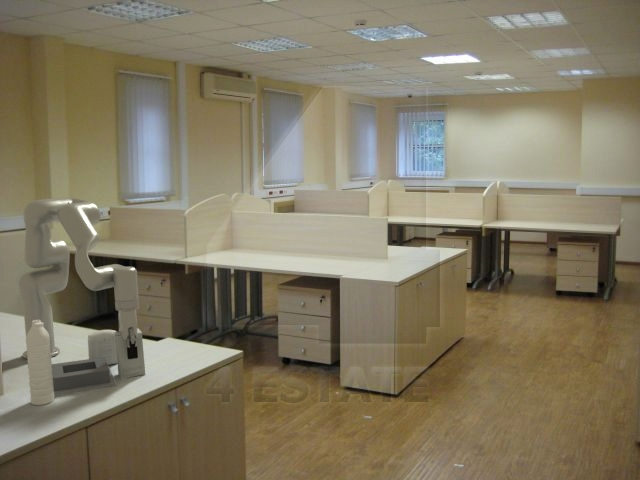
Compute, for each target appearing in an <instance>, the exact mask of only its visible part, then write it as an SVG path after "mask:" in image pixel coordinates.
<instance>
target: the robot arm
mask: <svg viewBox="0 0 640 480" xmlns="http://www.w3.org/2000/svg"><path fill="white" fill-rule="evenodd" d="M23 220H24V221H23V223H24V226H25V238H24V239H25V241H24V262H25V264H26V266H27V267H29V268H31V269H33V270H29V271H26V272H24V273H23V274H21V276H20V277H19V278H18V282H17V285H18V290H19V293H20V296H21V301H22V307H23V316H24V317H23V319H24V320H23V321H24V328H25V329H24V330H25V336H26V335H27V333H28V332H29V330H30V329H31V327H32V321H33V320H41V322H43V323H44V326H43V327H44V328H45V329H46V331H47V332H48V333H49V336H50V351H51V358H52V357H54V356H58V354H60V352H61V351H60V348H59V347H57V346H56V345H55V344H56V343H55V332H54V319H53V309H52V308H53V307H52V303H50V301H49V299H48V298H47V297H46V296H47V295H49V294H55V293H58V292H61V291H64V290H65V289H66V287H67V285H68V281H69V274H70V273H69V271H70V270H69V269H70V255H71V254H70V250H69V249H70V248H69V246H68V244H67V243H66V242H65V240H62V239H60V238H55V239H54V238H53V239H52V229H51V227H50V225H49V224H53V223H60V224H61V227H63V229H64V231H65V232H66V234H67V236H68V237H69V238H70V240H71V243H72V244H73V245H74V247H75V248H76V250H75V254H74V267H75V270H76V273H77V275H78V276H79V279H80V280H81V281H82V283H83V284H84V286H85V287H86V288H88V289H89V290H91V291H93V292H96V291H98V292H99V291H102V290H106V289H110V288H111V289H112V288H113V289H114V291H113V292H114V305H115V311H117V312H118V332H120V334H121V336H122V340H123V341H125V340H127V345H128V347H127V357H128V359H136V358H138V351H137V343H136V339H137V337H138V334H137V328H138V319H137V310H138V309H140V299H139V285H138V284H139V283H138V271H137V268H135V266H124V265H121V264H117V263H114V264H107V265H103V266H98V267H94V264H93V263H92V262H91V260H90V258H89V252H90V251H91V250H92V249H94V248H96V246H97V245H98V244H99V242H100V241H101V240H100V239H101V237H100V234H99V233H98V232H97V230H96V228H95V227H94V226H95V225H97V224H99V222H100V220H101V212H100V209H99V208H98V206H97V205H96V204H95V203H93V202H92V201H88V200H85V199H83V200H82V199H80V198H79V199H78V198H74V197H61V198H60V197H57V198H55V197H54V198H44V199H37V200H33V201H30V202H29V203H28V204H26V205H25V208H24V211H23ZM34 269H35V270H34ZM135 336H136V337H135ZM129 341H130V342H129ZM22 357H23V359H26V360H28V358H27V357H28V356H27V350H25V351H23V352H22Z"/></svg>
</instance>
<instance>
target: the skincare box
mask: <svg viewBox="0 0 640 480" xmlns="http://www.w3.org/2000/svg"><path fill="white" fill-rule="evenodd" d="M137 334H138V337H137V339H136V343H137V351H138V358H136V359H128V357H127V347H128V345H127V340H125V341H123V340H122V336H121V334H120V332H119V331H116V332H115V343H116V353H117V363H116V364H117V373H118V375H119V377H120V379H127V378H132V377H136V376H143V375H146V369H145V368H146V366H145V356H144V355H145V353H144V344H143V343H144V342H143V332H142V331H141V329H139V328H138V327H137ZM135 337H136V336H135ZM129 342H130V341H129Z"/></svg>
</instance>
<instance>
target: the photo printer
mask: <svg viewBox="0 0 640 480" xmlns="http://www.w3.org/2000/svg"><path fill="white" fill-rule="evenodd" d="M115 332H117V331H116V330H113V329H100V330H97V331H96V330H95V331H93V332H91V333H90V334H88V336H87V349H88V359H94V358H101V357H105V360H106V362H107V365H108V366H110V365H116V364H117V353H116V343H115Z"/></svg>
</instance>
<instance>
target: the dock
mask: <svg viewBox="0 0 640 480" xmlns="http://www.w3.org/2000/svg"><path fill="white" fill-rule="evenodd" d="M51 367H52V375H53V379H52V380H53V388H54V390H53V392H54V397H55V396H60V395H66V394H73V393H80V392H85V391H86V392H87V391H91V390H92V391H93V390H99V389H105V388H106V389H107V388H110V387H111V388H112V387H116V386H117V383H116V381H115V378H114V375H113V372H112V370H111V368H110V366H109V365H107V362H106V360H105V357H101V358H94V359H89V358H87V359H82V360H81V359H80V360H72V361H64V362H59V363H52V366H51Z"/></svg>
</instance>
